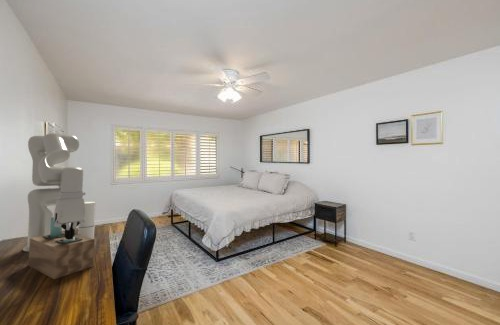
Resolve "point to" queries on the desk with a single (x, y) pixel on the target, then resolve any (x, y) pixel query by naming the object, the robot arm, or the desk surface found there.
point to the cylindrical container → (88, 221)
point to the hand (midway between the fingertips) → (69, 238)
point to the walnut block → (60, 255)
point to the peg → (55, 229)
